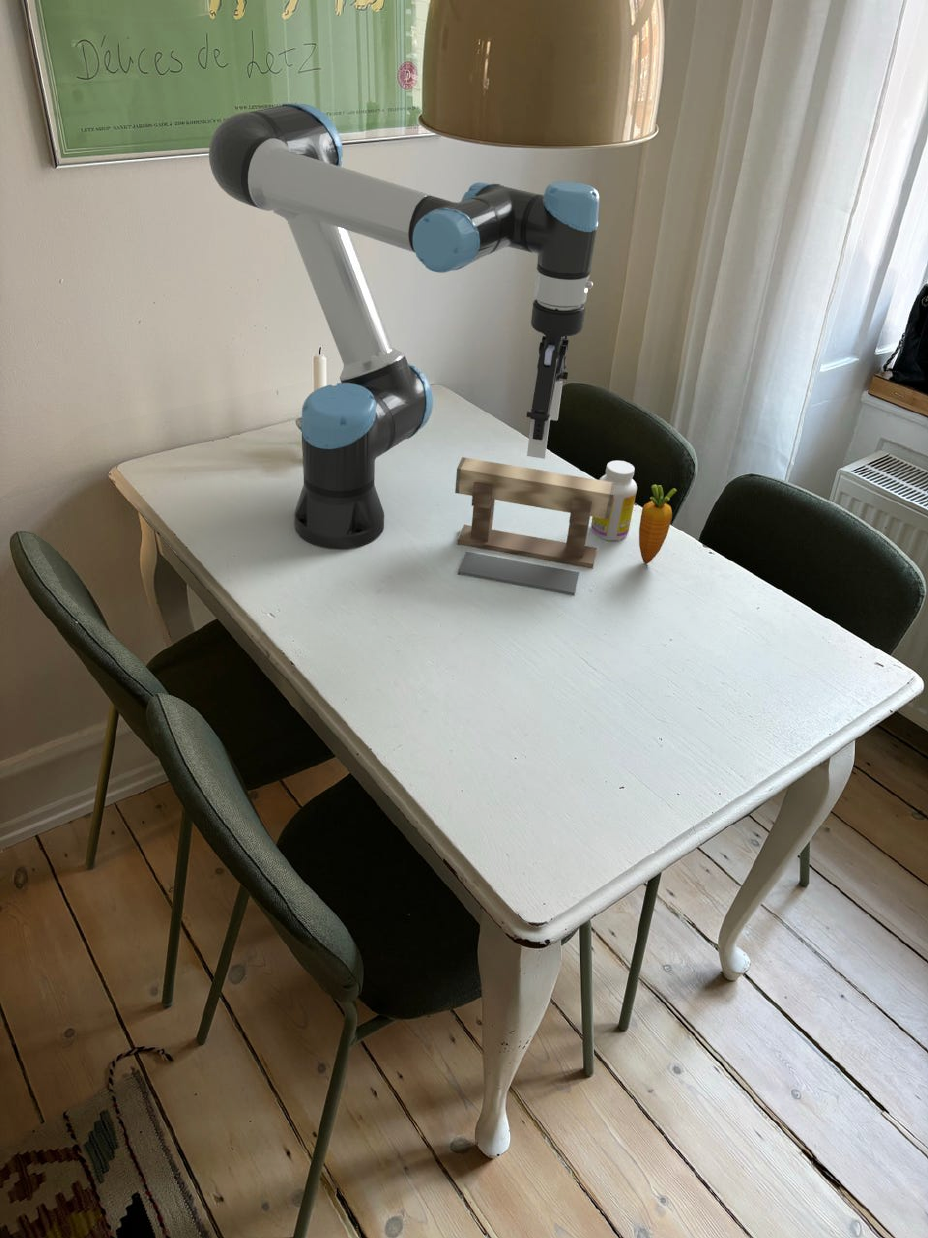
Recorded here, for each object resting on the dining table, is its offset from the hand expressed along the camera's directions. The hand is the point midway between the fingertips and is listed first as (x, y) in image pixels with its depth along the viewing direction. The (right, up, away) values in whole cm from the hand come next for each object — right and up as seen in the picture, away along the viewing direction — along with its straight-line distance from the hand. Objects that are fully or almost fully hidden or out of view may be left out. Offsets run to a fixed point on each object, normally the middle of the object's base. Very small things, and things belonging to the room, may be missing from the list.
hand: (542, 436), depth 151 cm
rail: (-1, -9, +7) cm, 11 cm away
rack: (-2, -16, +13) cm, 21 cm away
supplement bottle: (+13, -13, +19) cm, 27 cm away
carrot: (+18, -19, +12) cm, 29 cm away
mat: (-3, -21, +7) cm, 22 cm away
